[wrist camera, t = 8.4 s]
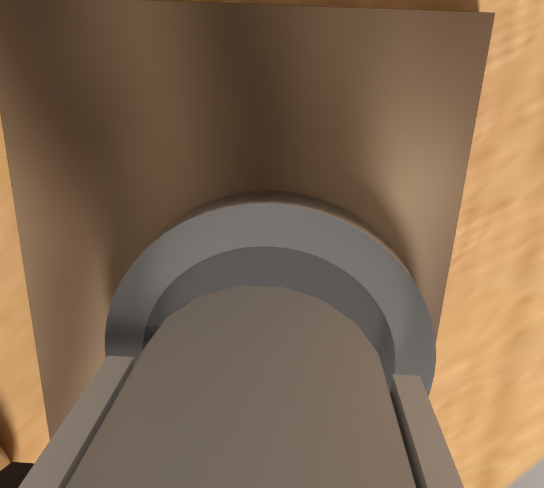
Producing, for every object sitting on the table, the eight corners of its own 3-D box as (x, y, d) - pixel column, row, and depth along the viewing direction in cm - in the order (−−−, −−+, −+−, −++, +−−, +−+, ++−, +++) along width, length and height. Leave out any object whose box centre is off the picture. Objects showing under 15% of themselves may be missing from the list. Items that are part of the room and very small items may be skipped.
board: (64, 427, 21) (51, 447, 20) (5, 0, 15) (-18, -6, 14) (405, 452, 20) (412, 474, 19) (480, 17, 15) (494, 12, 14)
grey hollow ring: (132, 444, 20) (116, 480, 18) (112, 182, 16) (89, 195, 14) (401, 463, 19) (411, 502, 17) (445, 199, 15) (464, 215, 14)
